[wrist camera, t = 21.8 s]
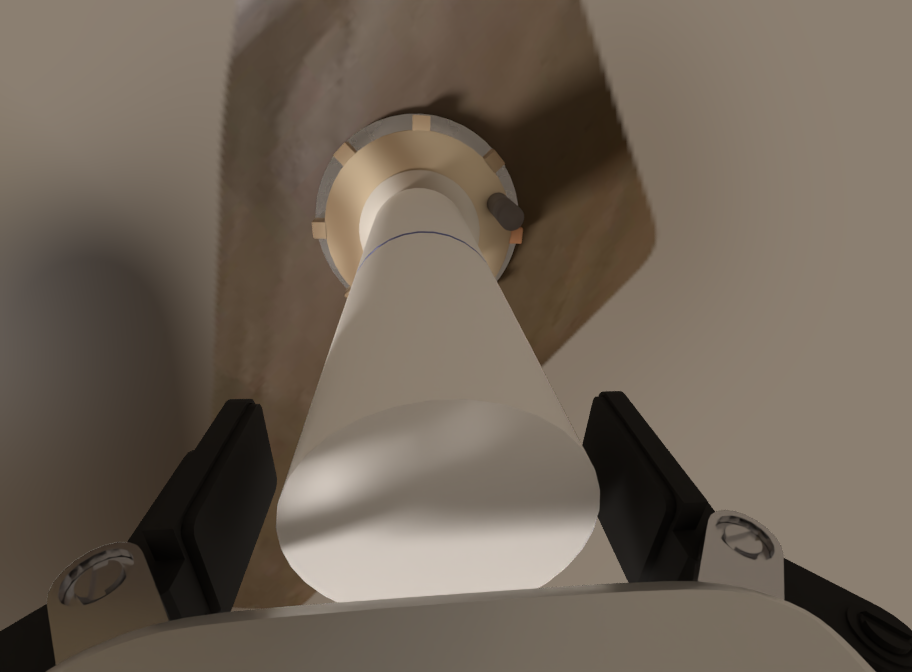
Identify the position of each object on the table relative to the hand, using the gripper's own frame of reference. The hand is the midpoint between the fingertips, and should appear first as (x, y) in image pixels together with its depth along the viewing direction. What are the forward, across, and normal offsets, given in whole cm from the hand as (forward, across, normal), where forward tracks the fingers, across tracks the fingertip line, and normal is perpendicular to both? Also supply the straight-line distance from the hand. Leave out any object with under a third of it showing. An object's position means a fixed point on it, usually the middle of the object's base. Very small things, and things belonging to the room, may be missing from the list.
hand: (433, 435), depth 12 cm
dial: (+24, 0, 0) cm, 24 cm away
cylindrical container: (+22, 0, 0) cm, 22 cm away
